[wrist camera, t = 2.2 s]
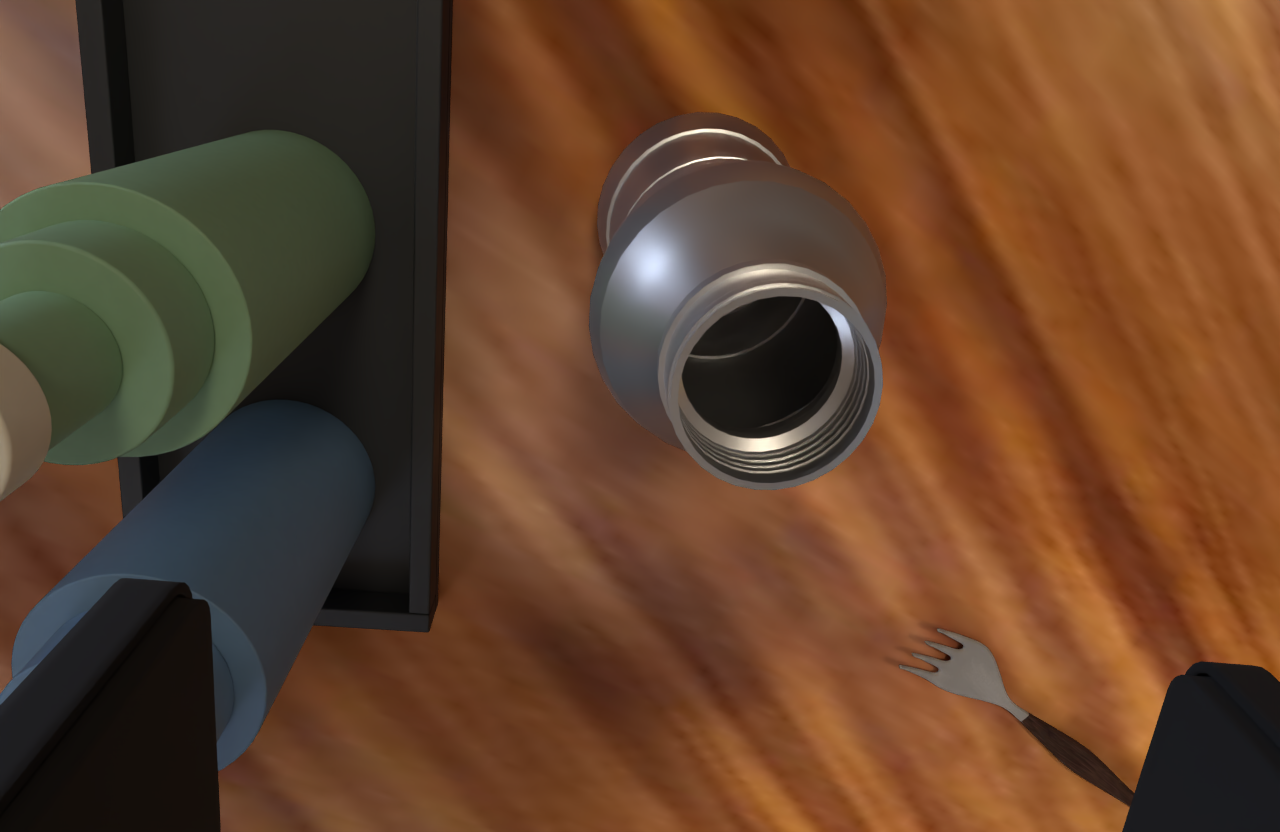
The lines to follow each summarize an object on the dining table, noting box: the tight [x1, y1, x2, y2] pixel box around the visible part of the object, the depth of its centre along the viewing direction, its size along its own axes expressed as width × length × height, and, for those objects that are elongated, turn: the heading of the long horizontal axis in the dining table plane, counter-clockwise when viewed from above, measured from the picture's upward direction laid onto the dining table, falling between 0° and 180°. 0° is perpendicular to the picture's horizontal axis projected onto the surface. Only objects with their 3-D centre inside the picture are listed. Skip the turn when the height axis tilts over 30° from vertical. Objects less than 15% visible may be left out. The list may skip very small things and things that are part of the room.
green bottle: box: [0, 130, 375, 501], centre depth 26 cm, size 6×6×20 cm
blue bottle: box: [0, 400, 375, 771], centre depth 29 cm, size 6×6×20 cm
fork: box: [899, 628, 1134, 806], centre depth 43 cm, size 3×16×2 cm, turn 50°
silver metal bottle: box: [589, 112, 887, 490], centre depth 27 cm, size 6×7×20 cm
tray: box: [76, 0, 453, 632], centre depth 35 cm, size 30×11×2 cm, turn 175°
